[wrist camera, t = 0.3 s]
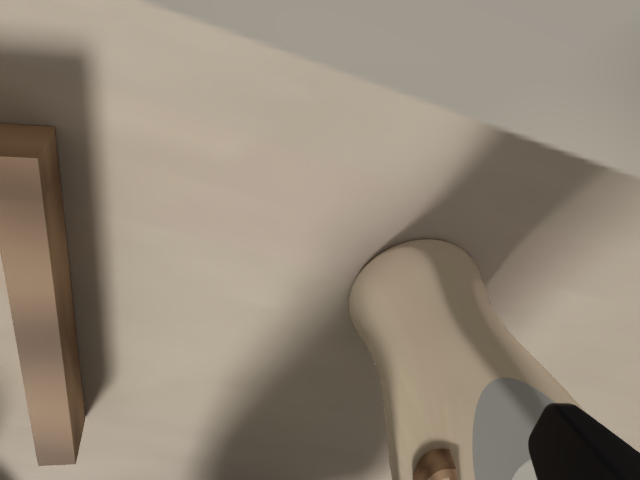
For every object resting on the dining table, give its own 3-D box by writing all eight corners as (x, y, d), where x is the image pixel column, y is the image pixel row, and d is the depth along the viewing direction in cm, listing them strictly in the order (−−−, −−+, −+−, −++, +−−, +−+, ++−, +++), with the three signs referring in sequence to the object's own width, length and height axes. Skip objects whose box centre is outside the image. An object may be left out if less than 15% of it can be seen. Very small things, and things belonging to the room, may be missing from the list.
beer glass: (389, 206, 24) (584, 583, 12) (517, 258, 27) (788, 612, 14) (310, 329, 27) (399, 735, 15) (433, 365, 30) (597, 735, 17)
